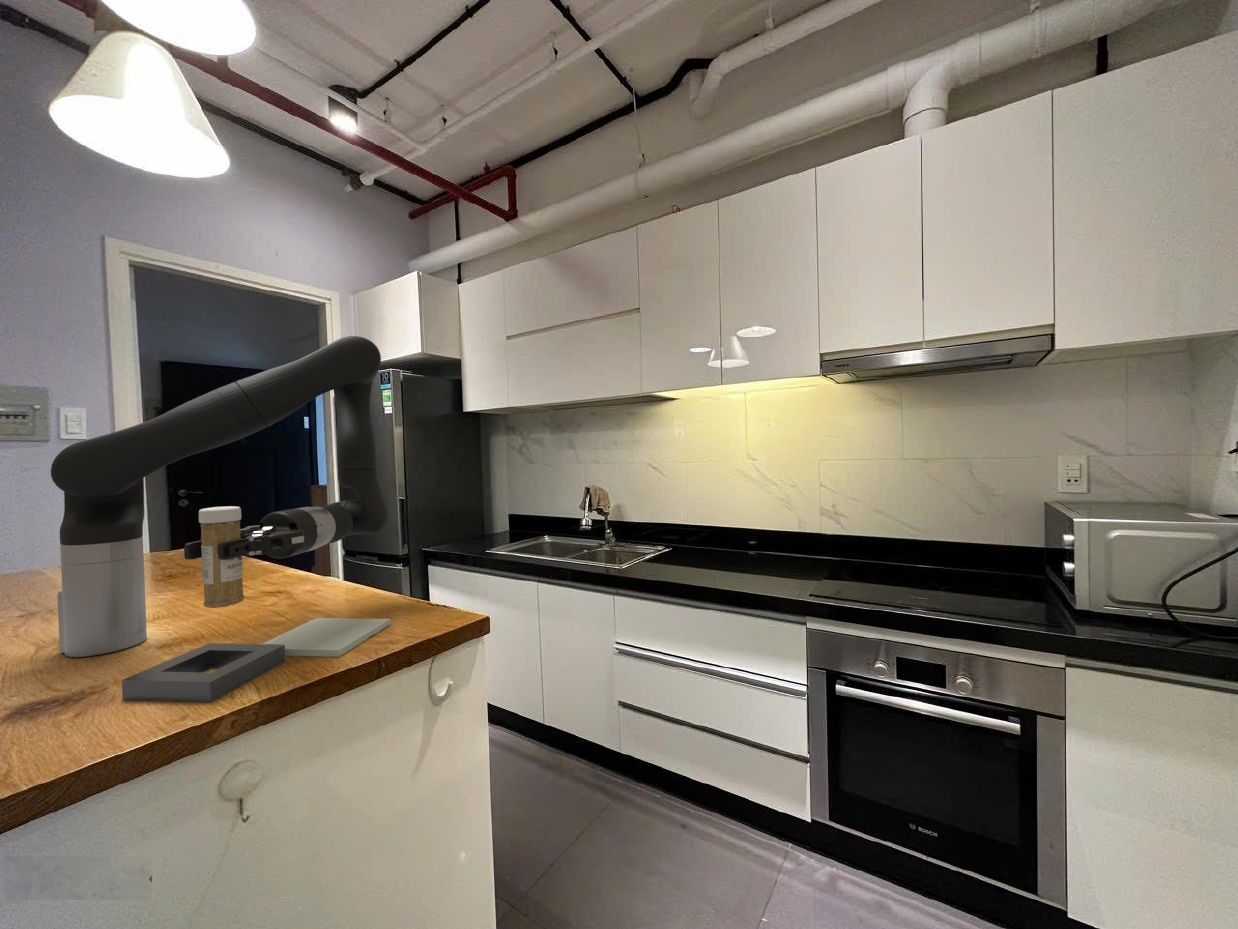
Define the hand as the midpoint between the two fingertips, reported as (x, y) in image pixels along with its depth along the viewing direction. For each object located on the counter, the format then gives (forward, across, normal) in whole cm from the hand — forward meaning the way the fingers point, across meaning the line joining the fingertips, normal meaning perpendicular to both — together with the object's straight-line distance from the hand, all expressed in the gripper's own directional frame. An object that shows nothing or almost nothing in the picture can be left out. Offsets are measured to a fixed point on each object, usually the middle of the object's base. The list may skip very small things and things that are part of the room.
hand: (204, 552), depth 66 cm
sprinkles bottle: (-3, 0, +8) cm, 8 cm away
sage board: (-16, +5, +18) cm, 24 cm away
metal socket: (-1, -1, +18) cm, 18 cm away
